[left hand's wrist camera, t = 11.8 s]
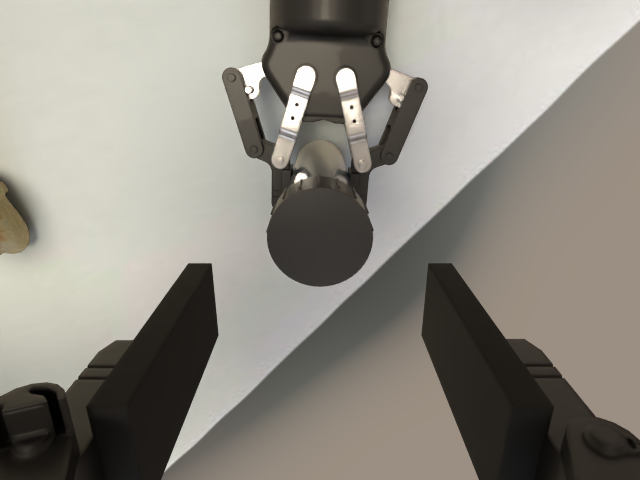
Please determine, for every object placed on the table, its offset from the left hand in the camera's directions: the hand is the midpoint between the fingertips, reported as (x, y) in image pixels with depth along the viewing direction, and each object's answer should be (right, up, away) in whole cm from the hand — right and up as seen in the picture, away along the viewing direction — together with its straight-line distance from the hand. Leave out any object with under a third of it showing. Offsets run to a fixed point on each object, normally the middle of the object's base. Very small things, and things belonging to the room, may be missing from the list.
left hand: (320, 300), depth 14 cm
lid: (0, +2, +6) cm, 6 cm away
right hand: (0, +4, +18) cm, 18 cm away
